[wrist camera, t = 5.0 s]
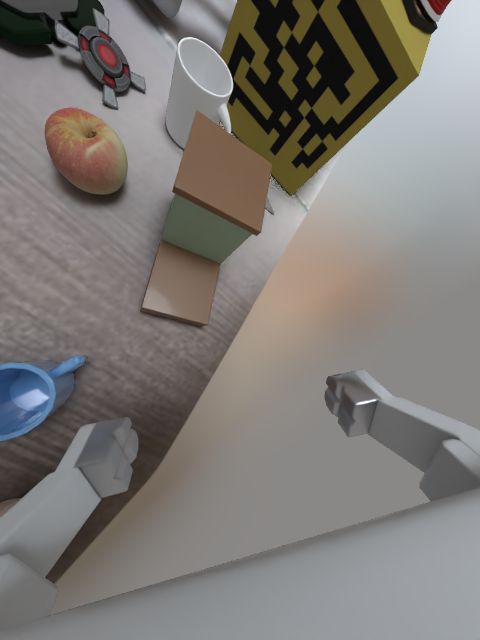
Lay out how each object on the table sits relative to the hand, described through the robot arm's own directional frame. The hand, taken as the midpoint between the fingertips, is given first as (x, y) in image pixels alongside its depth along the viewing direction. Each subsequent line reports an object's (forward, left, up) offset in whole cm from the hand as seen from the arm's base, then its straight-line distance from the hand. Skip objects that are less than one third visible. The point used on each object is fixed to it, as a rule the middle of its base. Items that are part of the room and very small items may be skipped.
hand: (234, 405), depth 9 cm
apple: (-15, +26, -27) cm, 40 cm away
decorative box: (+14, +65, -27) cm, 72 cm away
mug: (-3, +43, -27) cm, 51 cm away
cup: (-11, -3, -27) cm, 29 cm away
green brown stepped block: (+1, +18, -27) cm, 33 cm away
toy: (-19, +44, -25) cm, 54 cm away
